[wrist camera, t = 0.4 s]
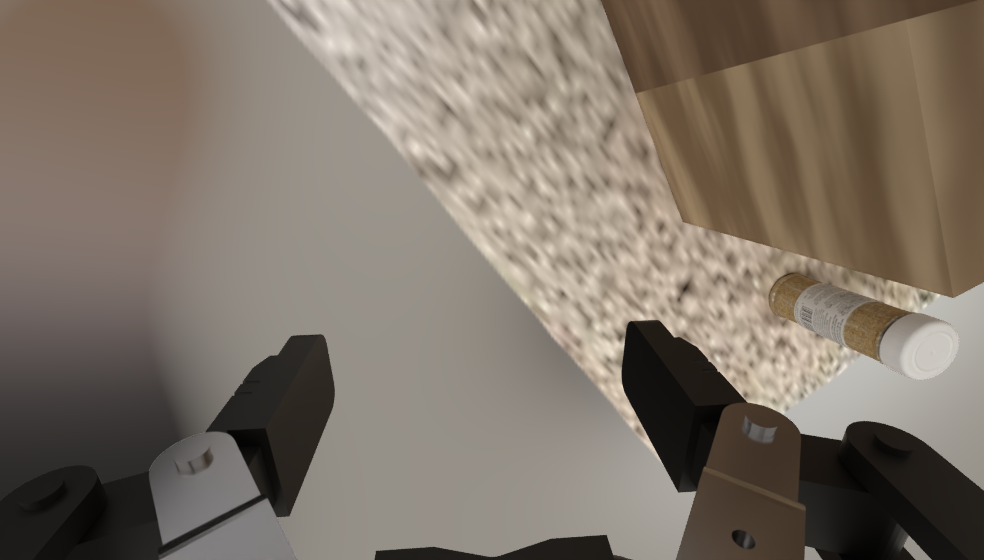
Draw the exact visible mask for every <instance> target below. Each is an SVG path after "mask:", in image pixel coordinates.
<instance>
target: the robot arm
mask: <svg viewBox="0 0 984 560" xmlns="http://www.w3.org/2000/svg"><path fill="white" fill-rule="evenodd" d="M622 384H623V388H624V392H625V394H626V396H627V398H628V400H629V402H630V404H631V405H632V407H633V409H634V411H635V413H636V415H637V417H638V418H639V420H640V422H641V424H642V426H643V428H644V430H645V431H646V433H647V435H648V437H649V439H650V441H651V443H652V444H653V446H654V448H655V450H656V452H657V454H658V456H659V457H660V459H661V461H662V463H663V465H664V467H665V469H666V471H667V472H668V474H669V476H670V478H671V480H672V481H673V484H674V485H675V487H676V489H677V491H678V492H692V491H696V495H695V498H694V501H693V505H692V508H691V511H690V515H689V518H688V521H687V525H686V528H685V531H684V535H683V538H682V541H681V545H680V548H679V551H678V554H677V558H676V560H804V549H805V546H808V547H813V548H815V549H816V551H817V552H818V554H819V555H820V557H821V558H822V559H823V560H915V559H914V558H913V557H912V556H911V554H910V553H909V552H908V551H907V550H906V549H905V548H904V547H903V546H904V544H905V542H906V539H907V537H908V536H910V537H911V538H912V539H913V540H914V541H915V542H916V543H917V544H918V545H919V546H920V548H921V549H922V550H923V551H924V552H925V553H926V554H927V555H928V556H929V557H930V558H931V559H932V560H984V491H983V490H982V489H981V488H980V487H979V486H977V485H976V484H975V483H973V481H971V480H970V479H969V478H967V477H966V476H965V475H964V474H963V473H961V472H960V471H959V470H958V469H957V468H955V467H954V466H953V465H952V464H951V463H949V462H948V461H947V460H946V459H944V458H943V457H942V456H941V455H940V454H938V453H937V452H936V451H935V450H933V449H932V448H931V447H929V446H928V445H927V444H926V443H924V442H923V441H922V440H920V439H918V438H917V437H915V436H913V435H911V434H909V433H907V432H905V431H903V430H901V429H898V428H895V427H893V426H889V425H886V424H882V423H877V422H869V421H860V422H854V423H852V424H850V425H849V426H848V427H847V429H846V431H845V434H844V437H843V439H842V441H841V440H835V439H829V438H823V437H817V436H811V435H805V434H800V432H799V430H798V428H797V427H796V425H795V424H794V423H793V422H792V421H790V420H789V419H788V418H787V417H785V416H784V415H782V414H781V413H779V412H777V411H775V410H773V409H770V408H768V407H765V406H762V405H758V404H752V403H747V402H746V400H745V399H744V398H743V397H742V396H741V395H740V394H739V393H738V392H737V391H736V389H735V388H734V387H733V386H732V385H731V384H730V383H729V382H728V381H727V380H726V378H725V377H724V376H723V375H722V374H721V373H720V372H717V369H716V367H715V366H714V365H713V364H712V363H711V362H708V359H707V358H706V356H705V355H704V354H703V353H702V352H701V351H700V350H699V349H698V348H697V347H696V346H694V345H692V344H691V343H689V342H687V341H686V340H684V339H682V338H680V337H676V338H674V337H673V336H672V334H671V333H670V332H669V331H668V330H667V329H666V327H665V326H664V325H663V324H662V323H661V322H660V321H659V320H648V321H630V322H629V323H628V325H627V329H626V337H625V346H624V354H623V363H622ZM334 396H335V389H334V381H333V375H332V370H331V365H330V359H329V354H328V348H327V343H326V339H325V337H324V336H323V335H321V334H319V335H297V336H291V337H290V338H289V340H288V341H287V343H286V344H285V346H284V347H283V348H282V350H281V351H280V353H279V354H278V355H277V356H269V357H268V358H266V359H265V360H263V361H262V362H261V363H259V364H258V365H256V366H255V367H254V368H253V369H252V370H251V371H250V373H249V374H248V375H247V377H246V378H245V379H244V381H243V384H241V385H240V386H239V388H238V389H237V390H236V391H235V395H234V396H232V397H231V398H230V400H229V401H228V402H227V404H226V405H225V406H224V408H223V409H222V410H221V412H220V413H219V414H218V416H217V417H216V419H215V420H214V421H213V422H212V424H211V425H210V427H209V428H208V429H207V430H206V432H205V433H201V434H197V435H194V436H191V437H189V438H186V439H184V440H182V441H179V442H178V443H176V444H174V445H172V446H171V447H169V448H168V449H167V450H165V451H164V452H163V453H162V454H161V455H160V456H159V457H158V458H157V459H156V460H155V461H154V462H153V464H152V466H151V468H150V470H149V471H148V472H144V473H141V474H137V475H133V476H129V477H126V478H122V479H118V480H115V481H111V482H108V483H104V484H102V483H101V481H100V479H99V477H98V474H97V472H96V471H95V469H93V468H92V467H89V466H84V465H76V466H68V467H64V468H59V469H56V470H53V471H50V472H47V473H45V474H42V475H40V476H38V477H36V478H34V479H32V480H30V481H28V482H26V483H24V484H23V485H21V486H20V487H18V488H16V489H15V490H13V491H12V492H11V493H9V494H8V495H6V496H5V497H4V498H3V499H2V500H1V501H0V560H297V558H296V556H295V554H294V551H293V549H292V548H291V546H290V543H289V541H288V539H287V537H286V535H285V533H284V531H283V529H282V527H281V525H280V523H279V521H278V519H277V517H286V516H290V513H291V511H292V508H293V506H294V503H295V501H296V498H297V496H298V493H299V491H300V488H301V486H302V483H303V481H304V478H305V476H306V473H307V471H308V468H309V466H310V463H311V461H312V458H313V456H314V453H315V451H316V448H317V446H318V443H319V441H320V438H321V436H322V433H323V431H324V428H325V426H326V423H327V421H328V418H329V416H330V413H331V411H332V408H333V404H334ZM375 560H631V559H628V558H624V557H621V556H616V555H613V553H612V550H611V548H610V544H609V541H608V538H607V535H600V536H584V537H570V538H556V539H549V540H546V541H543V542H540V543H537V544H534V545H531V546H528V547H525V548H522V549H519V550H516V551H513V552H510V553H507V554H504V555H501V556H498V557H486V556H481V555H475V554H469V553H464V552H458V551H453V550H448V549H442V548H437V547H426V548H412V549H398V550H383V551H376V555H375Z"/></svg>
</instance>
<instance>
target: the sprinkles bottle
mask: <svg viewBox="0 0 984 560" xmlns="http://www.w3.org/2000/svg"><path fill="white" fill-rule="evenodd" d="M769 302H770V307H771V309H772V311H773V312H774V313H775V314H777V315H778V316H780V317H783V318H787V319H789V320H791V321H794V322H796V323H798V324H799V325H801V326H802V327H804V328H806V329H808V330H810V331H812V332H815V333H817V334H819V335H821V336H823V337H825V338H827V339H829V340H832V341H834V342H836V343H838V344H840V345H842V346H844V347H847V348H849V349H851V350H855V351H857V352H860V353H862V354H864V355H867V356H869V357H871V358H873V359H875V360H878V361H880V363H882V364H884V365H886V367H887V368H889V369H891V370H893V371H895V372H897V373H900V374H902V375H904V376H906V377H909V378H912V379H916V380H925V379H929V378H932V377H935V376H937V375H938V374H940V373H941V372H943V371H944V370H945V369H946V368H947V367H948V366H949V365H950V364H951V363H952V361H953V360H954V358H955V356H956V354H957V351H958V348H959V336H958V333H957V331H956V329H955V328H954V327H953V326H952V325H951V324H949V323H947V322H945V321H942V320H939V319H937V318H934V317H931V316H928V315H925V314H920V313H914V312H908V311H905V310H901V309H899V308H896V307H892V306H890V305H887V304H884V303H883V302H880V301H877V300H874V299H871V298H868V297H865V296H862V295H859V294H856V293H853V292H850V291H847V290H844V289H841V288H838V287H835V286H832V285H829V284H825V283H821V282H818V281H815V280H812V279H809V278H807V277H806V276H803V275H800V274H790V275H787V276H784V277H783V278H781V279H780V280H778V281H777V282H776V284H775V285H774V287H773V288H772V290H771V292H770V295H769Z"/></svg>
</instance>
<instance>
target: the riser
mask: <svg viewBox="0 0 984 560" xmlns="http://www.w3.org/2000/svg"><path fill="white" fill-rule="evenodd" d="M601 1H602V4H603V7H604V9H605V12H606V15H607V17H608V20H609V23H610V26H611V28H612V31H613V34H614V36H615V39H616V42H617V44H618V47H619V50H620V53H621V55H622V58H623V61H624V63H625V66H626V69H627V72H628V74H629V77H630V80H631V82H632V85H633V88H634V90H635V93H636V96H637V99H638V101H639V104H640V107H641V109H642V112H643V115H644V118H645V120H646V123H647V126H648V128H649V131H650V134H651V136H652V139H653V142H654V145H655V147H656V150H657V153H658V155H659V158H660V161H661V164H662V166H663V169H664V172H665V174H666V177H667V180H668V182H669V185H670V188H671V191H672V193H673V196H674V199H675V201H676V204H677V207H678V210H679V212H680V215H681V218H682V220H683V222H685V223H689V224H692V225H696V226H699V227H703V228H707V229H710V230H714V231H717V232H721V233H724V234H728V235H731V236H735V237H739V238H742V239H746V240H749V241H753V242H756V243H760V244H763V245H767V246H770V247H774V248H778V249H781V250H785V251H788V252H792V253H795V254H799V255H802V256H806V257H810V258H813V259H817V260H820V261H824V262H827V263H831V264H834V265H838V266H841V267H845V268H849V269H852V270H856V271H859V272H863V273H866V274H870V275H873V276H877V277H881V278H884V279H888V280H891V281H895V282H898V283H902V284H905V285H909V286H912V287H916V288H920V289H923V290H927V291H930V292H934V293H937V294H941V295H944V296H948V297H952V298H954V297H956V296H958V295H960V294H962V293H964V292H966V291H967V290H970V289H971V288H973V287H975V286H977V285H979V284H981V283H983V282H984V0H601Z"/></svg>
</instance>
